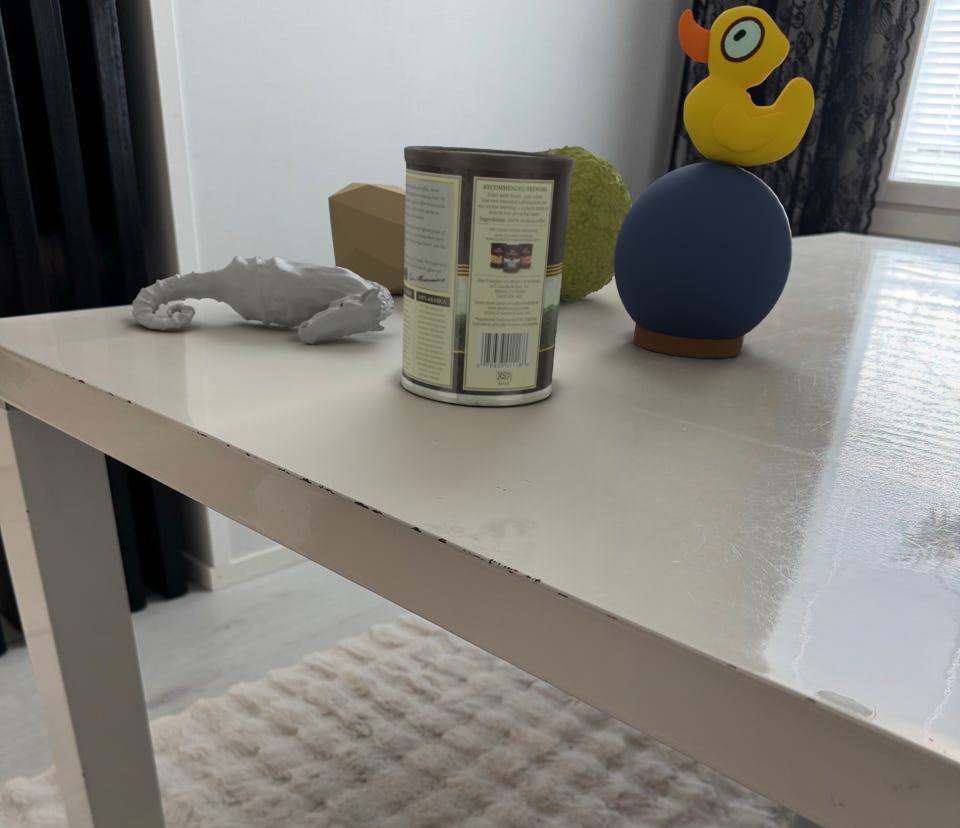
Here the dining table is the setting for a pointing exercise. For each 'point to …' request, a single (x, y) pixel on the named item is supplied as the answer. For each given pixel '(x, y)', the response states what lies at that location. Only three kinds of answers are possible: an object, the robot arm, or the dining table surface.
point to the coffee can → (482, 272)
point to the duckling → (742, 90)
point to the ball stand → (702, 260)
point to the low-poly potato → (370, 232)
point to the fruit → (591, 222)
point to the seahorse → (274, 297)
